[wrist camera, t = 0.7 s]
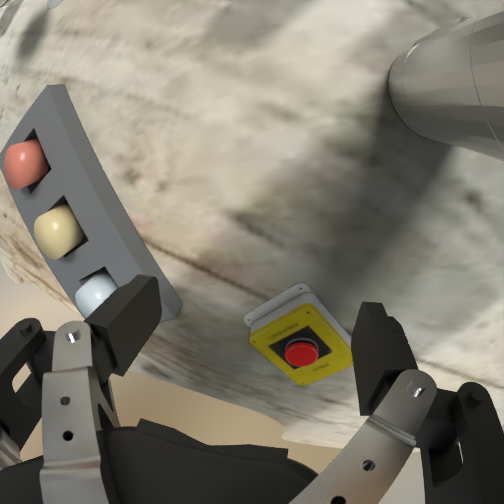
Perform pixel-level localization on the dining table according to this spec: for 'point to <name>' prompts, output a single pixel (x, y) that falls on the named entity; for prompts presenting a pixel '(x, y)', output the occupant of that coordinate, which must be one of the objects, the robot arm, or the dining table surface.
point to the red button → (25, 164)
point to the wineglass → (52, 2)
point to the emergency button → (300, 335)
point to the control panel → (81, 202)
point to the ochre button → (57, 231)
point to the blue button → (95, 292)
